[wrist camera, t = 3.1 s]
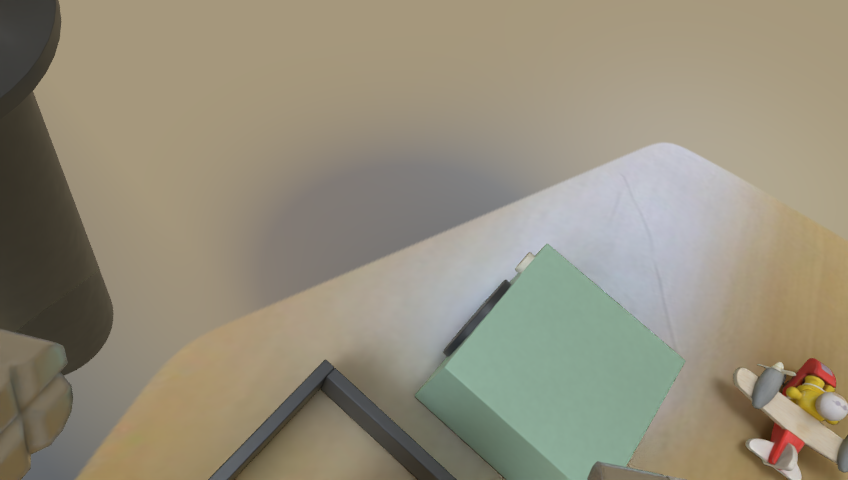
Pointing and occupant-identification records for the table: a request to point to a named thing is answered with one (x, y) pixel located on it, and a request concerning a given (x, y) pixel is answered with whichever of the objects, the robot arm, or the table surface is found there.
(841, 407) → the toy airplane
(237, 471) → the dark gray square frame
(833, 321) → the table surface
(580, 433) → the light green boxy block
